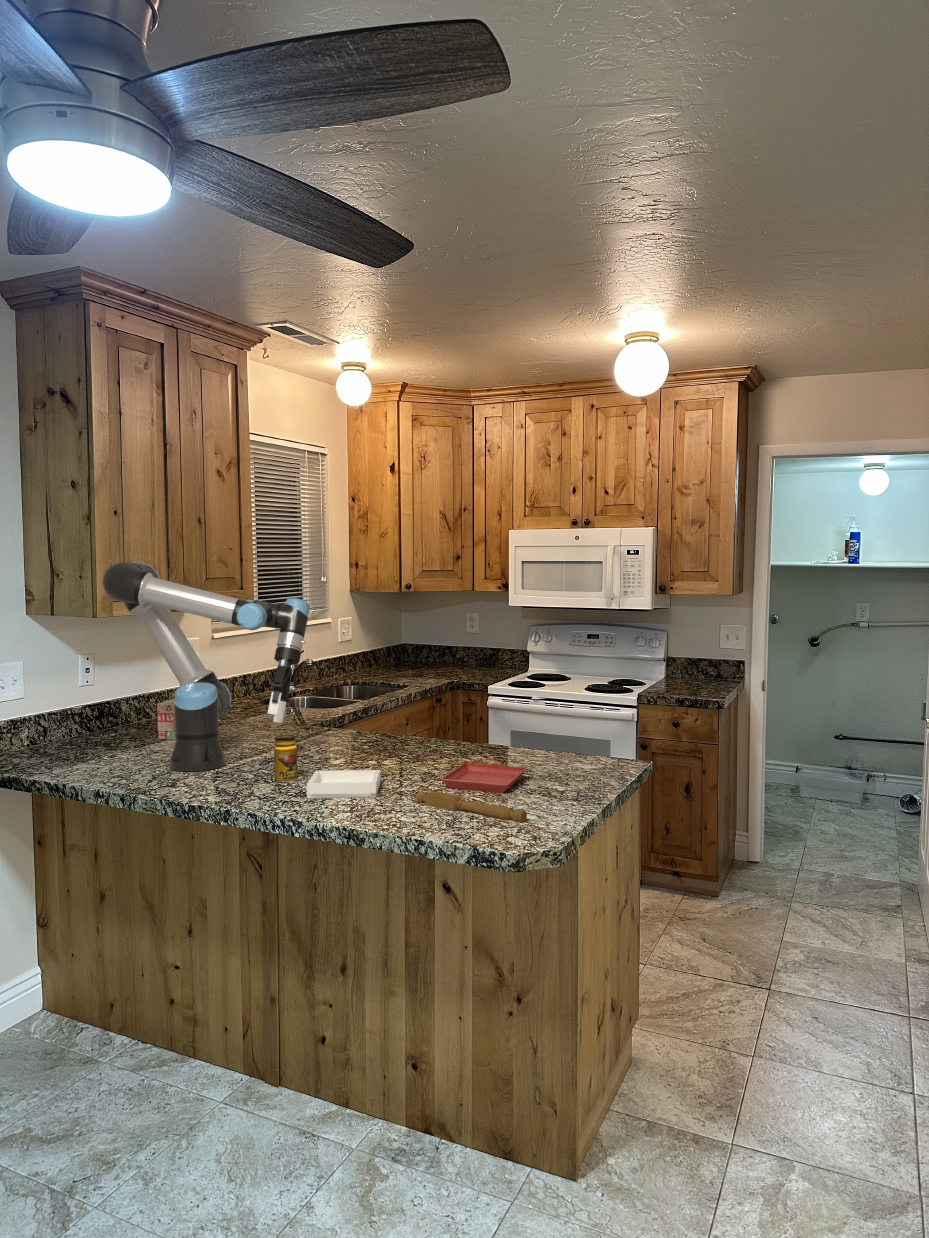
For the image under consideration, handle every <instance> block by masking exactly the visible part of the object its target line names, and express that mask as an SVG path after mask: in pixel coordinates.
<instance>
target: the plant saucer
mask: <svg viewBox="0 0 929 1238" xmlns="http://www.w3.org/2000/svg"><path fill="white" fill-rule="evenodd" d="M526 771H527V768H526V767H520V766H507V765H506V766H505V765H494V764H485V763H483V764H482V763H472V762H471V763H470V762H469V763H468V762H465V763H462V764H460V765H459V766H458V767H456V768H455V769H453V770H451V771H450V772H448V773H447V774H446V775H444V776H442V777H441V779H440V780H441V782H443V783H444V785H446V787H448V788H449V789H454V790H455V789H456V790H465V791H476V792H486V793H487V792H488V793H496V794H497V793H498V794H504V793H505V792H507V790H508V789H510V787H513V785H514V784H515V783H517V782H518V781H519V780H520V779H521V778H522V777H523V775H524V774H525V772H526Z"/></svg>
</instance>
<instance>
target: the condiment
mask: <svg viewBox="0 0 929 1238" xmlns="http://www.w3.org/2000/svg"><path fill="white" fill-rule="evenodd" d="M274 739H275V743H274V746H273V747H274V748H273V759H274V761H273V762H274V765H273V766H274V768H273V769H274V775H273V776H274V777H275V781H277V782H291V783H290V784H292V783H294V782H292V781H295V780H297V779H299V780H301V779H303V778H304V776H299V775H298V773H299V772H298V771H299V770H298V746H297V745H296V736H295V735H294V734H279V735H277V736H275V737H274ZM297 776H298V777H297ZM270 779H271V777H270ZM272 779H273V778H272ZM297 781H298V780H297ZM269 782H270V783H273V782H272V781H268V782H267V783H269ZM295 782H296V781H295Z"/></svg>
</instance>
